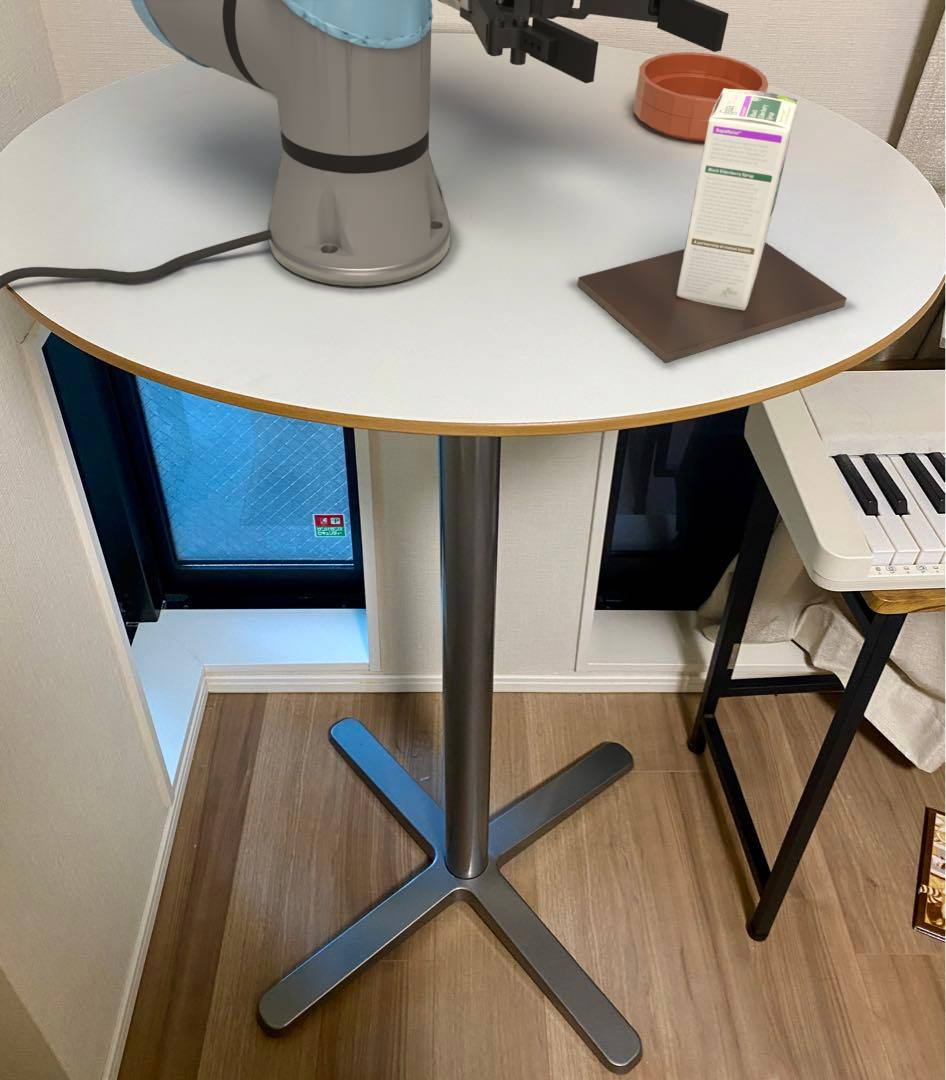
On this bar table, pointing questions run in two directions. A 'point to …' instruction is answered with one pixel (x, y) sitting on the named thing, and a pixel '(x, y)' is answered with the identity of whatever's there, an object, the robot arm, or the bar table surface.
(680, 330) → the mat
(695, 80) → the bowl
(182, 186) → the bar table surface
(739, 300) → the syrup box
